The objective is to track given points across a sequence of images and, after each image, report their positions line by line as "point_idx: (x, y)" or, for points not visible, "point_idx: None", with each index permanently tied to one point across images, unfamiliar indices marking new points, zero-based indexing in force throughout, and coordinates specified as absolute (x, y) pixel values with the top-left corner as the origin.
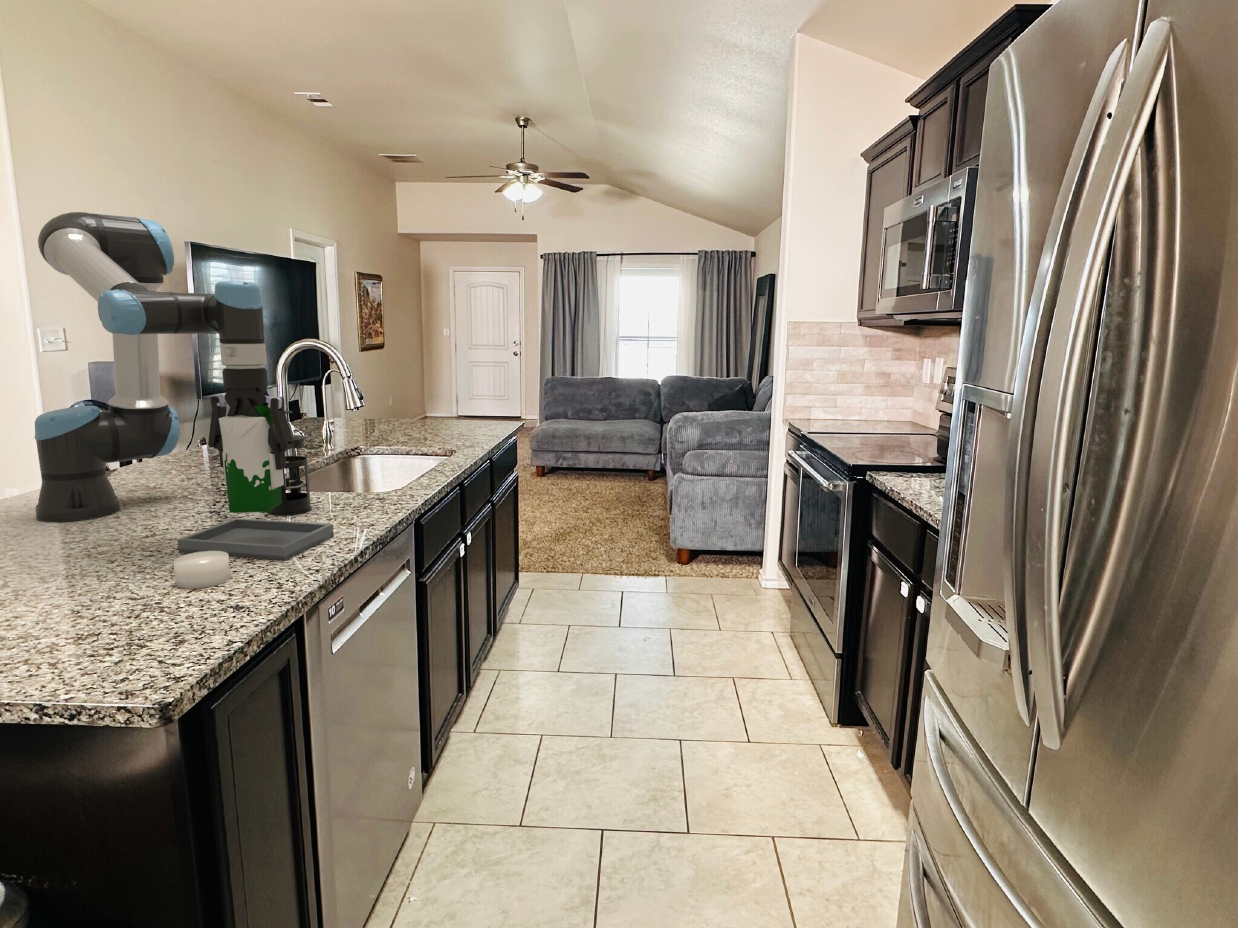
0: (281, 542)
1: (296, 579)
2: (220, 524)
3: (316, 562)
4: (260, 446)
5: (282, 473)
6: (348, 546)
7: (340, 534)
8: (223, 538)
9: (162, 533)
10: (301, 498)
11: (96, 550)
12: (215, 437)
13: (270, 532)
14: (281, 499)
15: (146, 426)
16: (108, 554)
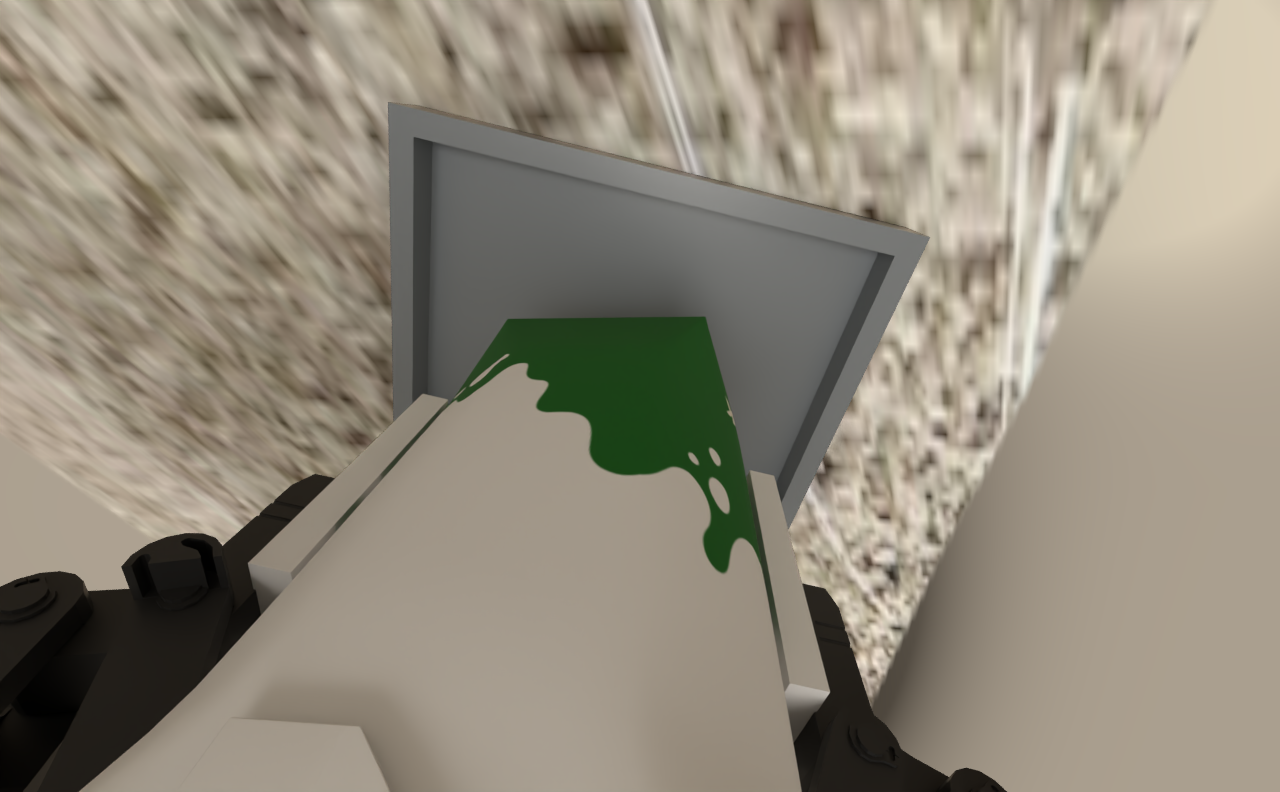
0: (723, 371)
1: (847, 620)
2: (400, 234)
3: (879, 518)
4: None
5: (786, 534)
6: (976, 371)
7: (934, 194)
8: (481, 314)
9: (157, 172)
10: None
11: (152, 382)
12: (36, 786)
13: (626, 229)
14: (710, 336)
15: None
16: (226, 421)
